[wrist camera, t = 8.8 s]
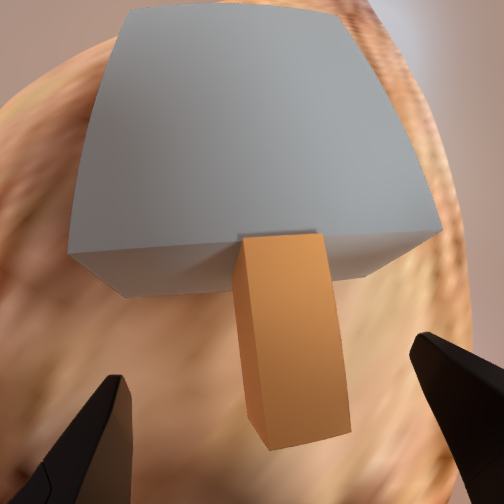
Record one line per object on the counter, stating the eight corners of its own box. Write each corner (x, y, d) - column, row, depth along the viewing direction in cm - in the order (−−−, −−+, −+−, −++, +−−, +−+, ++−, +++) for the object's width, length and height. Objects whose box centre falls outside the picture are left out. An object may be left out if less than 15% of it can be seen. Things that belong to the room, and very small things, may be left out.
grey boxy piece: (379, 379, 13) (475, 381, 7) (135, 412, 11) (77, 454, 5) (310, 86, 18) (337, 12, 12) (141, 88, 16) (129, 7, 11)
